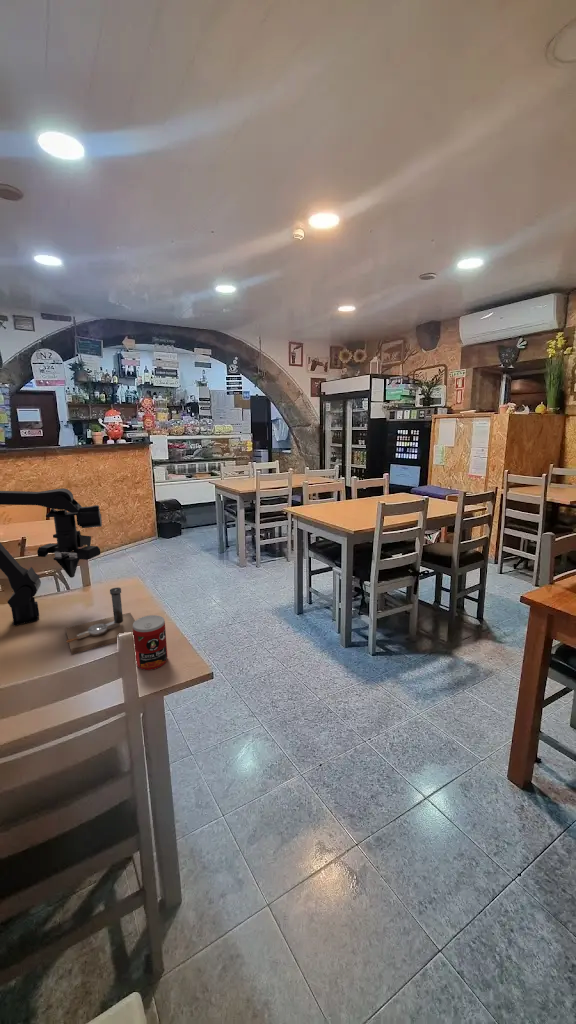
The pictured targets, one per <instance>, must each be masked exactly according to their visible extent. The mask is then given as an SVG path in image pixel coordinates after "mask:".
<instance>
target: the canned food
mask: <svg viewBox="0 0 576 1024" xmlns="http://www.w3.org/2000/svg"><path fill="white" fill-rule="evenodd" d="M133 635H134V638H133V643H134V644H135V646H134V652H136V655H135V662H136V661H137V663H136V665H137V667H138V668H139V669H140V668H141V669H140V670H143V669H145V670H144V671H152V670H151V669H153V670H156V669H159V668H161V667H162V666H164V665H165V664H166V663H167V660H168V644H167V643H168V642H167V631H166V621H165V618H164V617H163V616H162V615H161V616H160V615H157V614H154V615H153V614H152V615H151V614H150V615H144V616H142V617H139V618H138V619H135V622H134V623H133ZM158 667H159V668H158ZM155 668H156V669H155Z"/></svg>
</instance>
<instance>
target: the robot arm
mask: <svg viewBox="0 0 576 1024" xmlns="http://www.w3.org/2000/svg"><path fill="white" fill-rule="evenodd" d="M1 505H3V506H4V505H6V506H12V505H13V506H38V507H43V508H47V509H50V510H49V512H48V513H47V514H46V515H45V517H46V518H53V521H54V530H55V533H54V534H52V537H53V538H52V539H56V543H52V542H51V543H47V544H44V545H42V546H39V547H38V548H37V551H36V553H37V558H38V557H39V558H46V557H48V555H49V554H54V557H53V560H54V561H56V562H57V563H58V564H59V566H60V567H62V569H63V571H64V572H65V573H66V575H68V577H69V578H71V579H72V578H74V577H75V574H76V571H77V567H78V565H79V561H80V560H83V561H84V560H86V561H88V560H91V559H93V558H95V557H97V556H100V555H101V548H100V547H99V546H97V545H91V541H92V536H90V535H85V534H84V535H82V534H81V531H80V530H77V526H78V527H81V529H87V528H88V529H90V528H98V527H100V528H101V527H102V524H103V523H102V521H103V520H102V514H101V510H100V506H99V504H98V505H96V504H95V505H90V506H82V505H81V504H80V503H79V502H78V501H77V500H76V499H75V498H74V494H73V493H72V492H71V490H69V489H68V488H55V489H49V490H43V491H25V490H23V491H22V490H21V491H20V490H19V491H18V490H0V506H1ZM76 524H77V525H76ZM0 570H1V572H3V574H5V576H6V577H7V579H8V581H9V584H10V587H11V590H12V591H13V593H12V594H11V596H10V597H9V598H8V600H7V604H8V606H9V607H10V610H11V614H12V615H11V616H12V626H13V625H15V626H20V625H23V624H28V623H33V622H37V621H39V617H40V610H39V603H38V601H36V600H35V599H36V598H35V596H36V594H37V592H38V591H39V590H40V588H41V583H42V582H41V579H40V578H41V575H40V574H38V573H36V571H35V570H34V568H33V567H32V566H31V567H30V568H28V569H27V568H25V567H24V566H22V565H20V563H19V562H18V561H17V560H16V559H15V558H14V556H13V555H12V554H11V553H10V552H9V551H8V550H7V549H6V547H5V546H4V545H3V544H2V543H1V542H0Z"/></svg>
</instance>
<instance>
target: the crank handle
mask: <svg viewBox="0 0 576 1024" xmlns="http://www.w3.org/2000/svg"><path fill="white" fill-rule="evenodd" d="M121 593H122V588H121V587H112V588H111V589H109V595H111V603H112V612H113V617H114V621H113V622H110V623H107V624H96V625H93V626H91V627H89V628H88V631H86V632H83V633H80V634H77V639H81V638H84V637H87V636H99V635H102V634H104V633H106V632H107V631H108V630H109V629H112V628H115V627H118V626H120V623H122V622H123V614H124V613H123V605H122V596H121Z"/></svg>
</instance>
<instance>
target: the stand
mask: <svg viewBox="0 0 576 1024" xmlns="http://www.w3.org/2000/svg"><path fill="white" fill-rule="evenodd" d="M122 614H123V622H122V623H120V626H118V627H115V628H112V629H109V630H108V631H107V632H106V633H104V634H102V635H99V636H87V637H84V638H81V639H77V634H80V633H83V632H86V631H88V628H89V627H91V626H93V625H96V624H107V623H110V622H113V621H114V616H109V617H107V618H103V619H102V618H101V619H97V620H94V621H89V622H85V623H80V624H76V625H73V626H68V627H65V630H66V631H65V632H66V637H67V639H66V641H65V642H66V643H67V644H69V649H70V654H71V655H74V654H78V653H81V652H85V651H88V650H93V649H96V648H100V647H103V646H107V645H111V644H114V643H118V642H117V635H118V634H119V633H124V632H133V623H134V622H135V621H136V619H135V618H134V616H133V615H132V612H127V613H122Z"/></svg>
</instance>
